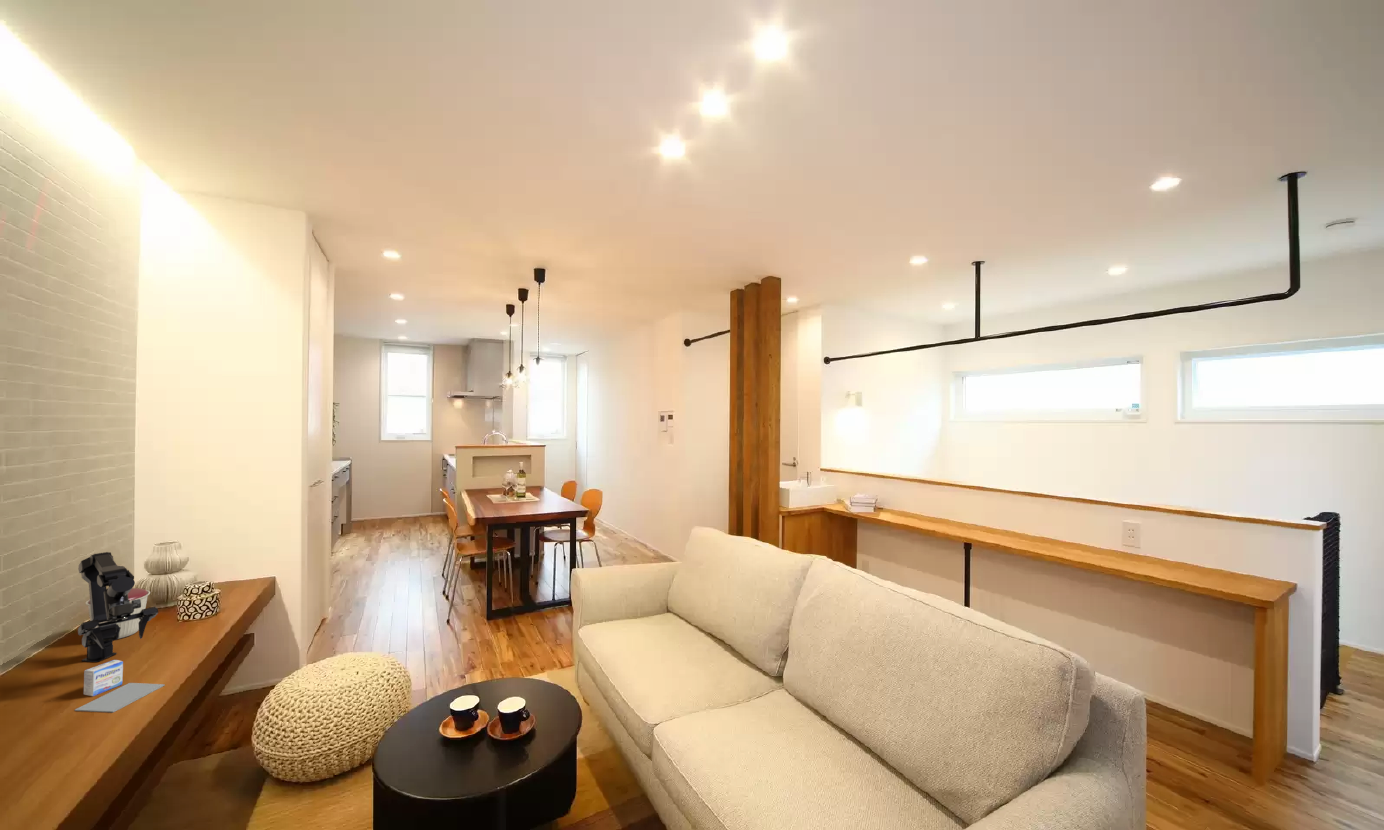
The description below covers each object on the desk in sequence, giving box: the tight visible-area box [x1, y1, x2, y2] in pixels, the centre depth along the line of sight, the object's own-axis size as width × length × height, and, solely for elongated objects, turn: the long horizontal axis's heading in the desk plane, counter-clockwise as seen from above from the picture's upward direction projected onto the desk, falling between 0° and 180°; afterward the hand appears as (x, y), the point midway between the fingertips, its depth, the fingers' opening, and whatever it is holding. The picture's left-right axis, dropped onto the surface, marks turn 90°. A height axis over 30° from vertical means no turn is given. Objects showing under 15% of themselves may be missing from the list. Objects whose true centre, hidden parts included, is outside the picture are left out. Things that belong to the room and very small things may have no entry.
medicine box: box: [83, 659, 124, 697], centre depth 175 cm, size 8×4×9 cm, turn 168°
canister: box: [85, 587, 151, 640], centre depth 213 cm, size 18×18×21 cm
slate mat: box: [74, 682, 165, 714], centre depth 171 cm, size 12×16×1 cm
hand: (122, 643), depth 180 cm, fingers open, 9 cm apart
